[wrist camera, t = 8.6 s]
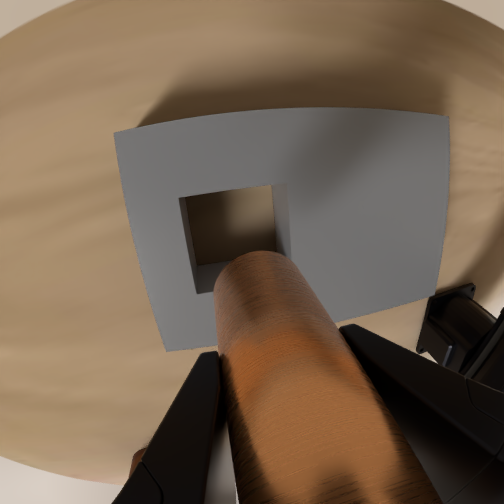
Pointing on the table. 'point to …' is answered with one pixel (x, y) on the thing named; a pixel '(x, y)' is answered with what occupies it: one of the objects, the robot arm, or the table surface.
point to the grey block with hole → (293, 205)
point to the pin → (303, 398)
